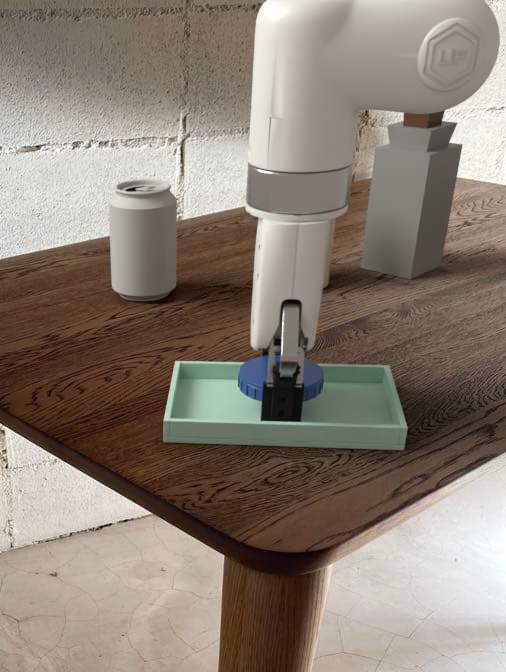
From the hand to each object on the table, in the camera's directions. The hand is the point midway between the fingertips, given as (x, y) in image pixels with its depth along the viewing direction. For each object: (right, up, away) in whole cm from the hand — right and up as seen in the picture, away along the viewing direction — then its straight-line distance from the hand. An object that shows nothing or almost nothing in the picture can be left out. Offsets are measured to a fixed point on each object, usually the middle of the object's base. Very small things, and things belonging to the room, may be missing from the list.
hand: (279, 405), depth 74 cm
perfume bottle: (+21, +21, +31) cm, 43 cm away
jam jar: (+8, +19, +27) cm, 34 cm away
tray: (0, -1, 0) cm, 1 cm away
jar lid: (0, +2, -2) cm, 3 cm away
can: (-10, +17, +27) cm, 34 cm away
